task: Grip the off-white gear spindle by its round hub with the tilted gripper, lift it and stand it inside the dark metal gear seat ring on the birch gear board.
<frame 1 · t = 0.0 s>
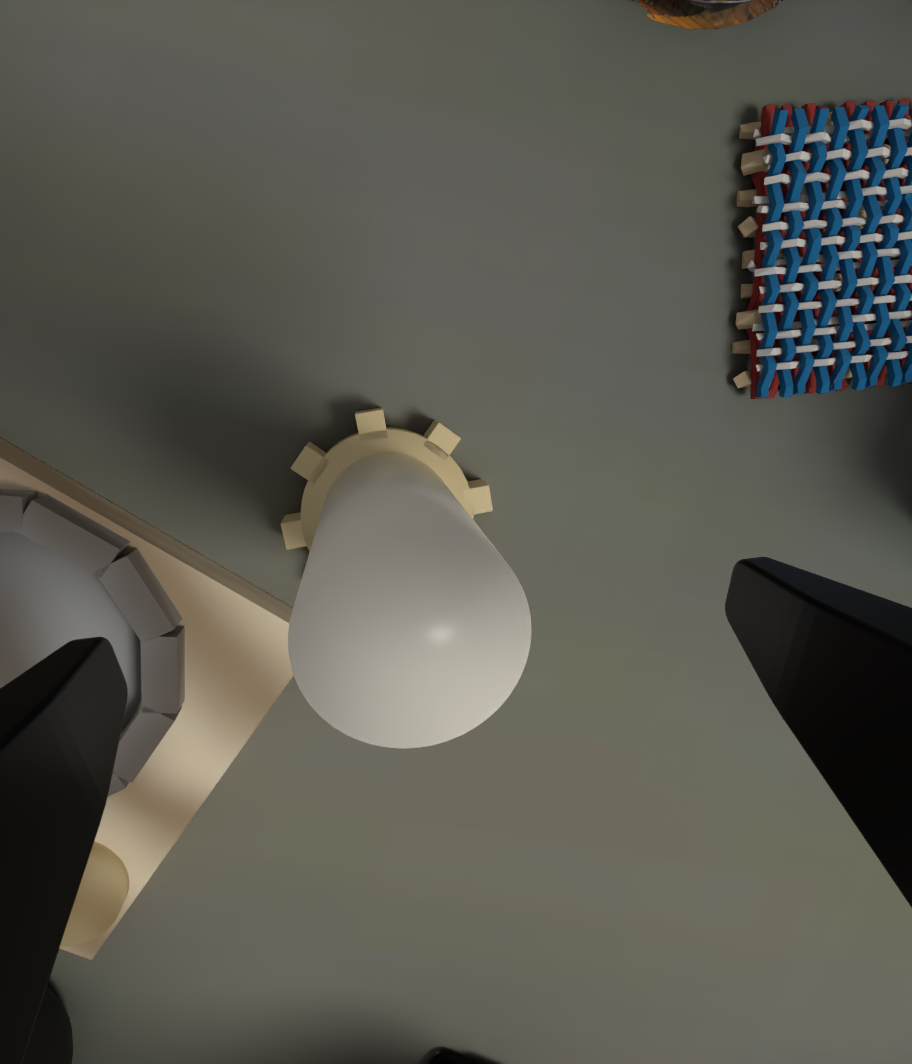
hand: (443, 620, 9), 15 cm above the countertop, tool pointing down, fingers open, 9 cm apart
gear spindle: (387, 508, 24), on the countertop
gear board: (23, 693, 24), on the countertop
woven mat: (840, 258, 25), on the countertop
mug: (2, 1035, 27), on the countertop
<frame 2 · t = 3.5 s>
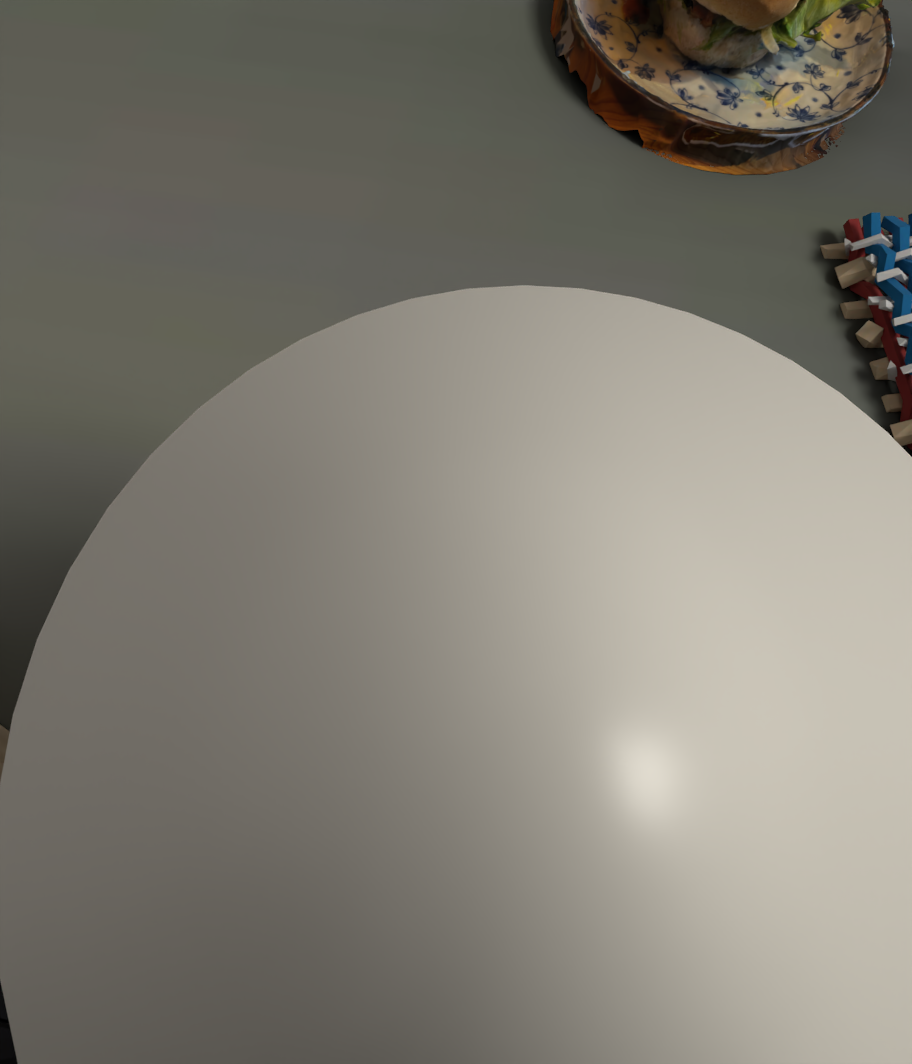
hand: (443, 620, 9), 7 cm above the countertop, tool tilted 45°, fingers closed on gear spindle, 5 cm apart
gear spindle: (430, 715, 15), on the countertop, touching gripper
burger: (702, 59, 23), on the countertop
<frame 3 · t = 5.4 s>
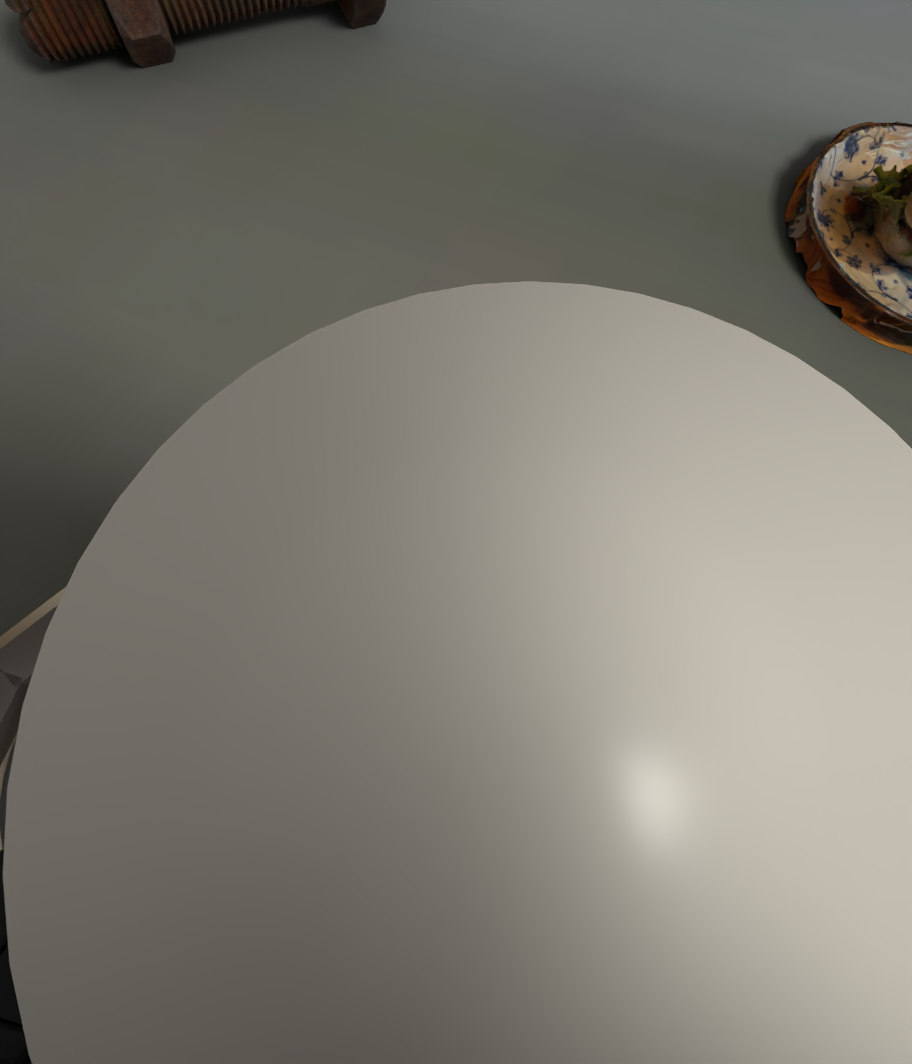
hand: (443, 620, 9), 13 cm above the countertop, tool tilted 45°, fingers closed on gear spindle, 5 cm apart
gear spindle: (432, 713, 15), point 6 cm above the countertop, touching gripper
gear board: (163, 846, 19), on the countertop
burger: (897, 253, 29), on the countertop
bolt: (216, 38, 28), on the countertop
when the fingers open (10 cm above the countertop, at t = 7.1 s): gear spindle drops 1 cm, resting on gear board.
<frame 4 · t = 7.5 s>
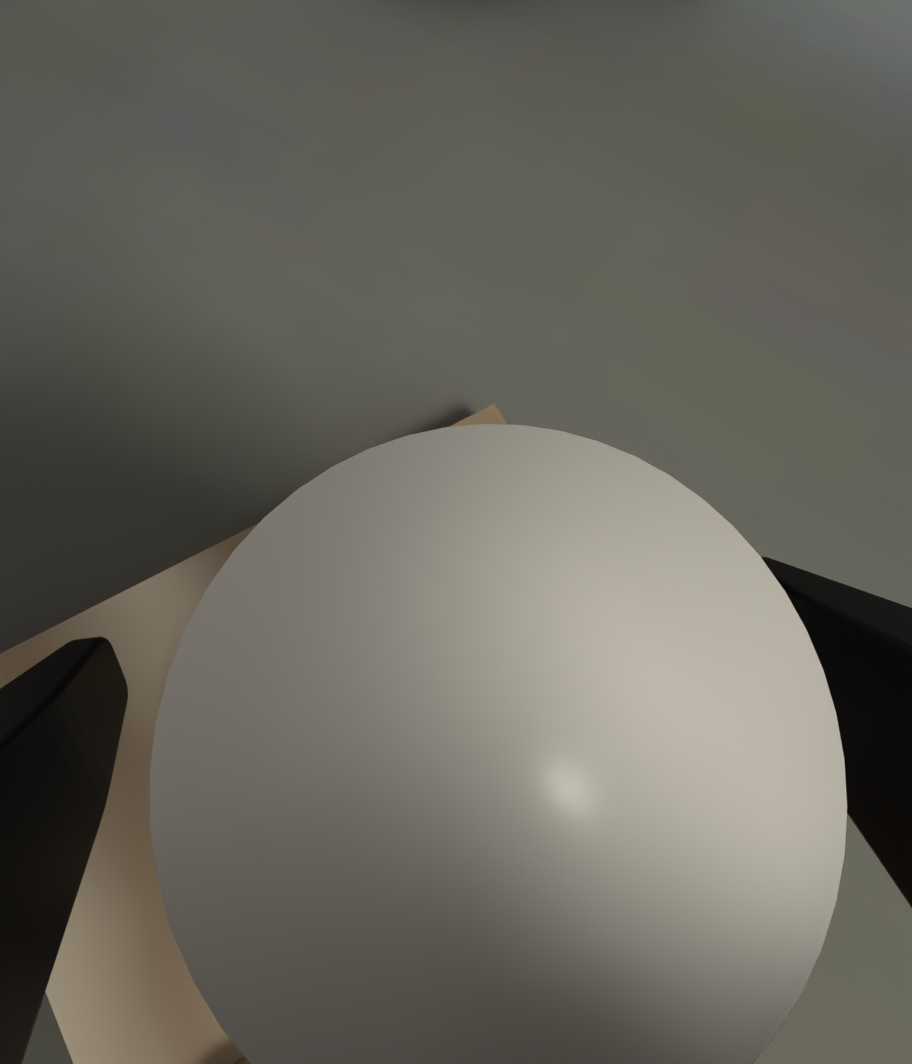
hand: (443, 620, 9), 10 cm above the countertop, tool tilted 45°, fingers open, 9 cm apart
gear spindle: (427, 716, 16), point 2 cm above the countertop, touching gear board
gear board: (381, 783, 17), on the countertop
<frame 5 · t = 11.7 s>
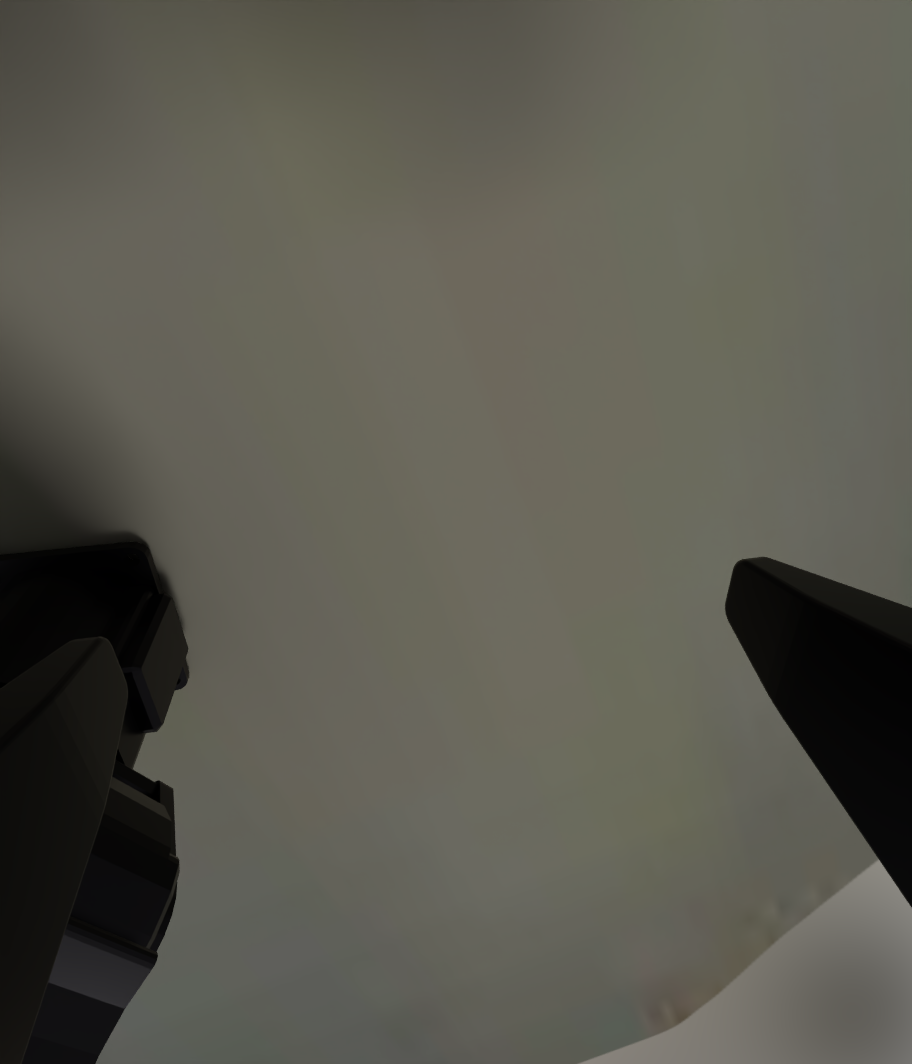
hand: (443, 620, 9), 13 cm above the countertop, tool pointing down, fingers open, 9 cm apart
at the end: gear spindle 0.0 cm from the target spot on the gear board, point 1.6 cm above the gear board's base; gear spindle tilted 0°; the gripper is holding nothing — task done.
